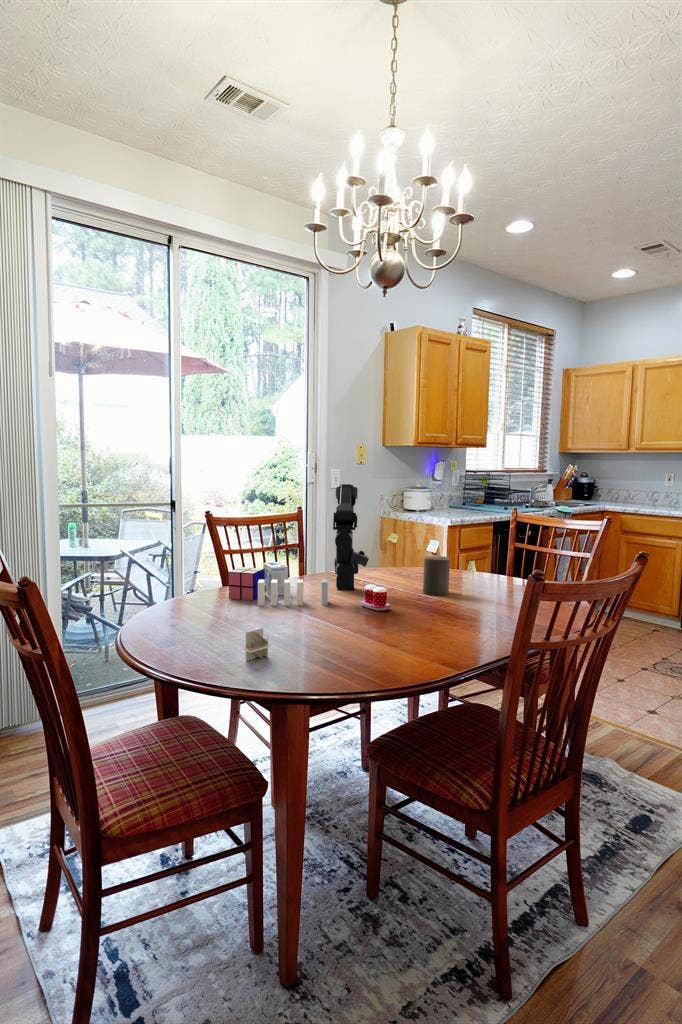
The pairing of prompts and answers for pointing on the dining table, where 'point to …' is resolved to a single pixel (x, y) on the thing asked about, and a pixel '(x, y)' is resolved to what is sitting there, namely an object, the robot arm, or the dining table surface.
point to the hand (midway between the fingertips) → (343, 589)
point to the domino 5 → (324, 592)
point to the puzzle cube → (245, 583)
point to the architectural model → (256, 644)
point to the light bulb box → (275, 576)
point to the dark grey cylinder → (436, 575)
